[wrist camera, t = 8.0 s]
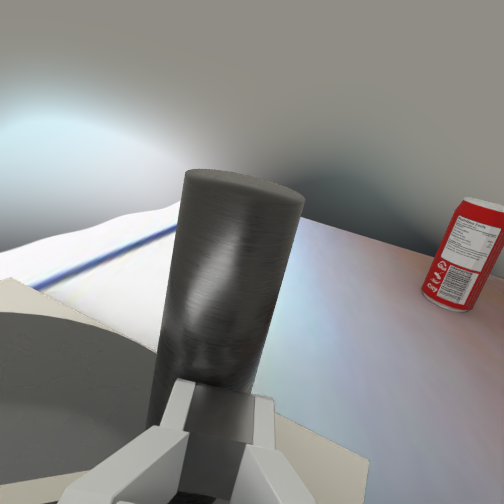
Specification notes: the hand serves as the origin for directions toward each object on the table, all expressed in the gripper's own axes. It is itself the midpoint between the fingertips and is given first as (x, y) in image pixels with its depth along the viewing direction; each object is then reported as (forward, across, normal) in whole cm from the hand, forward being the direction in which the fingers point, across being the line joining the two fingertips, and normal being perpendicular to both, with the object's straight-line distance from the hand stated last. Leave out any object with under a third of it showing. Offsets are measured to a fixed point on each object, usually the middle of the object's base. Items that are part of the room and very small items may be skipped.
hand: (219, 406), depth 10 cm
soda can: (+31, -24, +8) cm, 40 cm away
